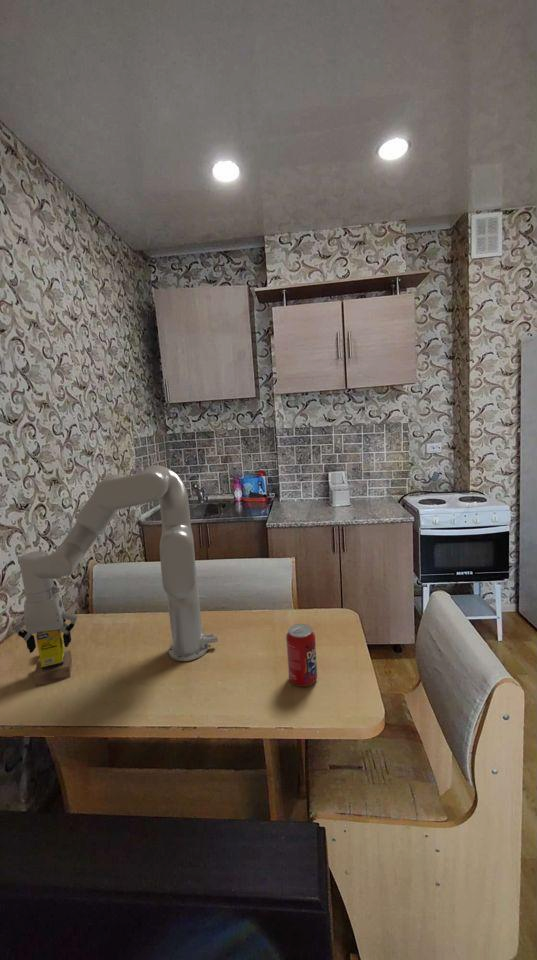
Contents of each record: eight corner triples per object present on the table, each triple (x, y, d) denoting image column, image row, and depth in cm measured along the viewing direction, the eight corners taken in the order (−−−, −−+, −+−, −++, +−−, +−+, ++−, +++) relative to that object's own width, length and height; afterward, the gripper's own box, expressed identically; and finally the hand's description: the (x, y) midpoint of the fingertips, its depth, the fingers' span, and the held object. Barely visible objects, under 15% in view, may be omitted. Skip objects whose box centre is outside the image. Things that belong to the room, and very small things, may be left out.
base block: (72, 661, 132) (70, 650, 131) (70, 678, 124) (68, 666, 123) (40, 670, 129) (38, 658, 128) (36, 687, 120) (34, 675, 120)
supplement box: (64, 664, 124) (58, 630, 122) (41, 670, 122) (35, 635, 120) (65, 654, 129) (60, 621, 128) (44, 659, 127) (38, 626, 125)
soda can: (284, 675, 118) (281, 626, 115) (309, 667, 120) (306, 619, 118) (296, 692, 110) (292, 641, 108) (322, 683, 113) (319, 633, 110)
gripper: (75, 584, 126) (84, 635, 130) (13, 592, 123) (23, 645, 127) (68, 595, 119) (77, 649, 122) (2, 604, 116) (13, 659, 119)
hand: (50, 647), depth 125 cm, fingers open, 9 cm apart
